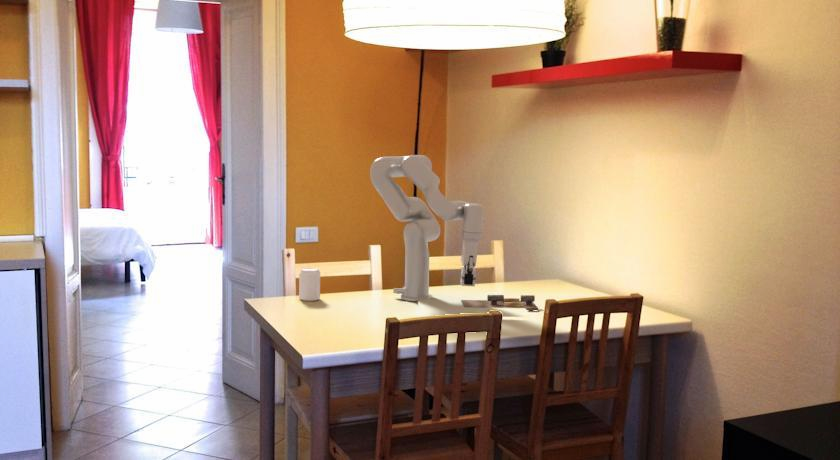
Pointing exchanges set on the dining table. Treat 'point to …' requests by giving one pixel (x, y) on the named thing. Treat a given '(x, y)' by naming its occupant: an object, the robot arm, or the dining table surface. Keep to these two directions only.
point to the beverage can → (309, 284)
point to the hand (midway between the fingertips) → (467, 282)
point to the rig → (503, 302)
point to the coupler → (463, 272)
